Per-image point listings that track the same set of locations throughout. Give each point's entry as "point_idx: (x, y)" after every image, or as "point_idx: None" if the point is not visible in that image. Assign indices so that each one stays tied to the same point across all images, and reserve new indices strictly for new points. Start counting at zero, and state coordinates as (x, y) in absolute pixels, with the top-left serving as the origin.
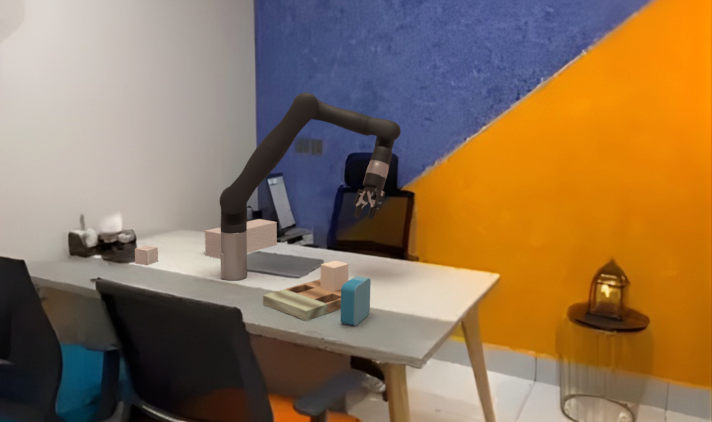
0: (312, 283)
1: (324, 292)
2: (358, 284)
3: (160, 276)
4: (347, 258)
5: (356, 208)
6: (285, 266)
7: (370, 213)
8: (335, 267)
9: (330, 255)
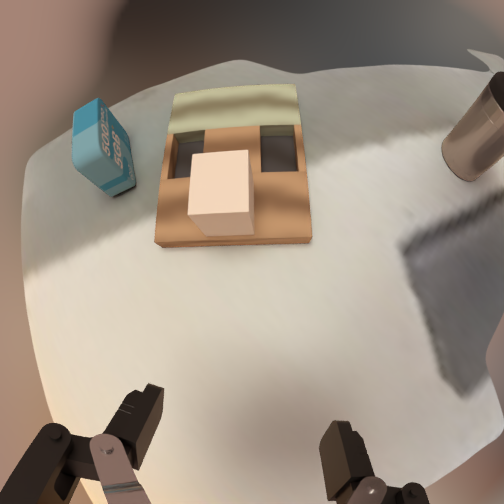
0: (293, 189)
1: None
2: (74, 119)
3: None
4: (429, 454)
5: (358, 465)
6: (478, 286)
7: (137, 408)
8: (192, 161)
9: (468, 431)
